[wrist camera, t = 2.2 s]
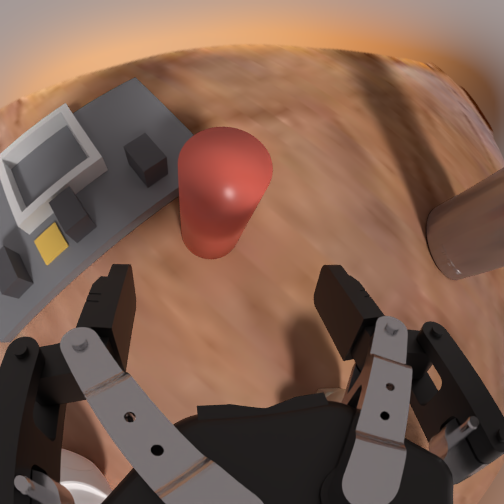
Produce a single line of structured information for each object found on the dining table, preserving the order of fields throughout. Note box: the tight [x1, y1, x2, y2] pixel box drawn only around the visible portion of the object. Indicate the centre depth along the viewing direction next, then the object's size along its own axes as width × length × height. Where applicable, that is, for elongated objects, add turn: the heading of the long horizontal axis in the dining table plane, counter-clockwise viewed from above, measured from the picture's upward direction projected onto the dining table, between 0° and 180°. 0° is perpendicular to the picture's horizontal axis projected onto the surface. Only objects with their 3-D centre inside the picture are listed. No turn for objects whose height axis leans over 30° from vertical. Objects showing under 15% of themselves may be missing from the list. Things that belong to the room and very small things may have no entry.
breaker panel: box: [0, 78, 194, 342], centre depth 19 cm, size 24×14×4 cm, turn 133°
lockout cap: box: [178, 127, 273, 259], centre depth 18 cm, size 5×5×10 cm
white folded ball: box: [60, 448, 112, 504], centre depth 11 cm, size 8×8×8 cm
